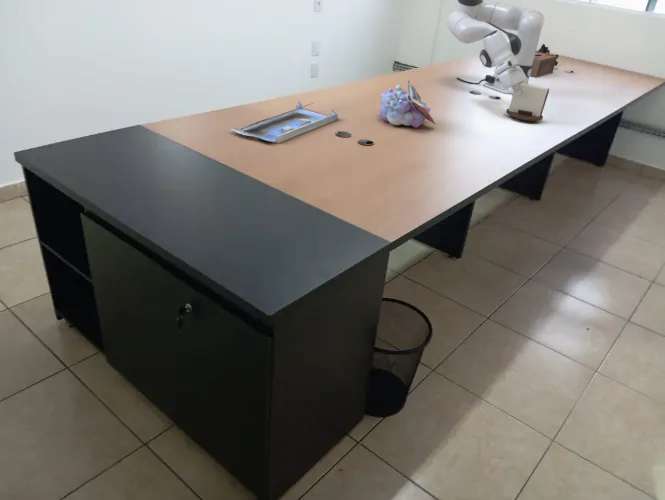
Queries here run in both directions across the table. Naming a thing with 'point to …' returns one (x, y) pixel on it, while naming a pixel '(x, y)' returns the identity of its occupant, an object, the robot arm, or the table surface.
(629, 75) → the table surface
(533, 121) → the stand base
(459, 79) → the robot arm
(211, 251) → the table surface
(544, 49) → the tablet mount
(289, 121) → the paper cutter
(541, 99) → the upright block on disc
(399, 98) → the lilac bumpy lump
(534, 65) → the tissue box cover
